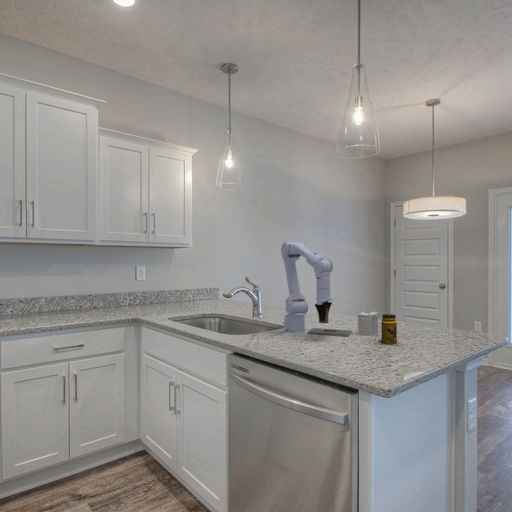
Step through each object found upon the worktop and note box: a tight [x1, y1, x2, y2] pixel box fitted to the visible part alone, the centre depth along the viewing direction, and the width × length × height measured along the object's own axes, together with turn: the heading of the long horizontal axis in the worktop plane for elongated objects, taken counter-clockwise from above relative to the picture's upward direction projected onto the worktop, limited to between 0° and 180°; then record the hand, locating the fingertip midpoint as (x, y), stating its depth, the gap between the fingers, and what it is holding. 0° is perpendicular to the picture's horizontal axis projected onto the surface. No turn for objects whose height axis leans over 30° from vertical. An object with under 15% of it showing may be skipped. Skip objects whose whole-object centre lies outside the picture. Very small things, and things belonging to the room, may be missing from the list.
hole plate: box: [307, 327, 353, 338], centre depth 171 cm, size 18×10×3 cm, turn 66°
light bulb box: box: [357, 311, 379, 337], centre depth 171 cm, size 11×7×11 cm, turn 149°
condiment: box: [375, 313, 400, 346], centre depth 157 cm, size 7×8×12 cm
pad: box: [310, 335, 338, 342], centre depth 160 cm, size 10×7×2 cm
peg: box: [318, 308, 329, 324], centre depth 160 cm, size 4×4×6 cm
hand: (323, 319), depth 160 cm, fingers closed on peg, 4 cm apart
